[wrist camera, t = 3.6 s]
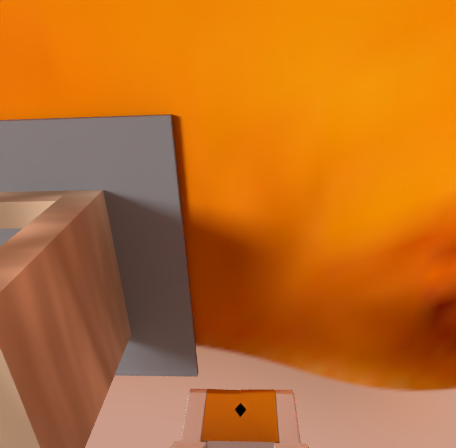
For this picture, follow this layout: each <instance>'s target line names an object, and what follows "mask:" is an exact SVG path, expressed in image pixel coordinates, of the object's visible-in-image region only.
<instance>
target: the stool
mask: <svg viewBox="0 0 456 448" xmlns="http://www.w3.org/2000/svg"><path fill="white" fill-rule="evenodd" d="M1 228H23V229H21V230H20V231H19V232H18V233H16V234H15V235H14V236H13V237H12V238H10V239H9V240H8V241H7V242H5V243H4V244H3V245H2V246H0V448H85V446H86V443H87V441H88V439H89V436H90V434H91V431H92V429H93V426H94V424H95V421H96V419H97V417H98V414H99V412H100V409H101V407H102V404H103V402H104V400H105V397H106V395H107V392H108V390H109V387H110V385H111V382H112V380H113V378H114V375H115V373H116V370H117V368H118V365H119V363H120V361H121V358H122V356H123V353H124V351H125V348H126V346H127V343H128V341H129V339H130V336H131V329H130V324H129V319H128V314H127V309H126V304H125V299H124V294H123V289H122V284H121V278H120V273H119V268H118V263H117V258H116V253H115V248H114V243H113V238H112V233H111V228H110V223H109V217H108V212H107V207H106V202H105V197H104V192H103V190H70V191H20V192H0V229H1Z"/></svg>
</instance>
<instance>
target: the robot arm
mask: <svg viewBox="0 0 456 448" xmlns="http://www.w3.org/2000/svg"><path fill="white" fill-rule="evenodd" d="M170 448H309V447H308V446H307V445H306V444H301V442H300V435H299V428H298V420H297V413H296V406H295V398H294V393H293V391H292V390H219V389H190V391H189V394H188V400H187V406H186V411H185V417H184V423H183V429H182V435H181V441H178V442H174V444H173V445H172V446H171V447H170Z"/></svg>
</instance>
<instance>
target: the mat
mask: <svg viewBox="0 0 456 448" xmlns="http://www.w3.org/2000/svg"><path fill="white" fill-rule="evenodd" d="M70 190H103V192H104V197H105V202H106V207H107V212H108V217H109V223H110V228H111V233H112V238H113V243H114V248H115V253H116V258H117V263H118V268H119V273H120V278H121V284H122V289H123V294H124V299H125V304H126V309H127V314H128V319H129V324H130V329H131V336H130V339H129V341H128V343H127V346H126V348H125V351H124V353H123V356H122V358H121V361H120V363H119V365H118V368H117V370H116V373H115V375H129V376H130V375H131V376H198V365H197V356H196V346H195V336H194V326H193V317H192V307H191V297H190V287H189V278H188V268H187V258H186V249H185V239H184V229H183V219H182V210H181V200H180V190H179V181H178V171H177V161H176V152H175V142H174V132H173V122H172V114H171V115H141V116H111V117H81V118H51V119H21V120H0V192H20V191H70ZM21 229H23V228H1V229H0V246H2V245H3V244H4V243H5V242H7V241H8V240H9V239H10V238H12V237H13V236H14V235H15V234H16V233H18V232H19V231H20V230H21Z"/></svg>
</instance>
